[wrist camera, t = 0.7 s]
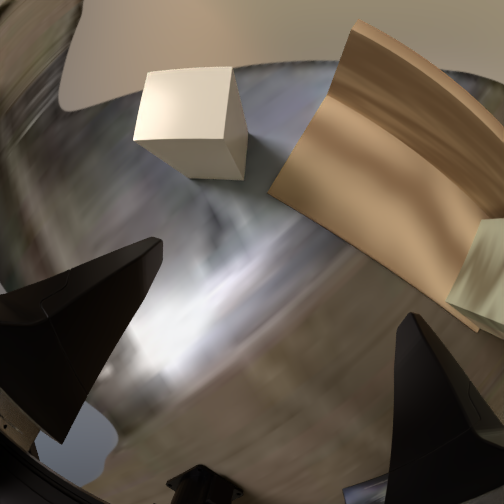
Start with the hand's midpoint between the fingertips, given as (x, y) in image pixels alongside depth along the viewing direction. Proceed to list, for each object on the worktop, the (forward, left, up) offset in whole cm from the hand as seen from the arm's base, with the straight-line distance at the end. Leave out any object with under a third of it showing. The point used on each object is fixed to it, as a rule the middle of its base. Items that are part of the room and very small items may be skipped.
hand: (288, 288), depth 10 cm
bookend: (+2, +9, -13) cm, 16 cm away
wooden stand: (+11, -6, -13) cm, 18 cm away
